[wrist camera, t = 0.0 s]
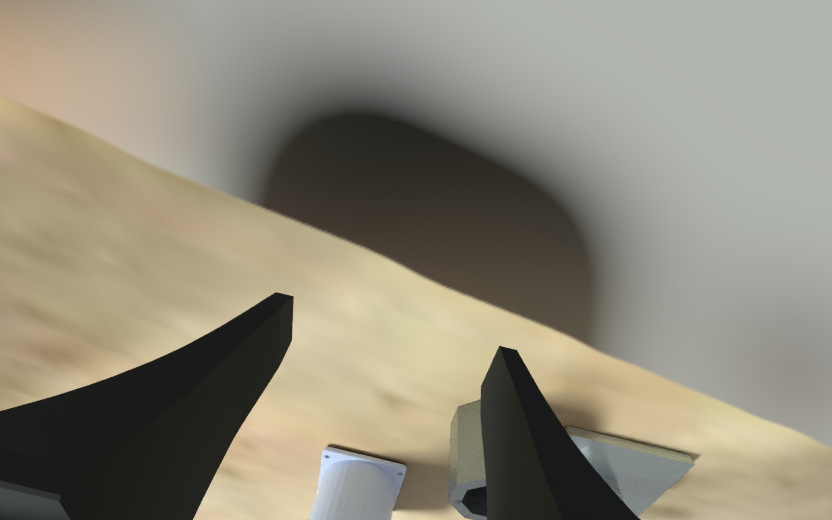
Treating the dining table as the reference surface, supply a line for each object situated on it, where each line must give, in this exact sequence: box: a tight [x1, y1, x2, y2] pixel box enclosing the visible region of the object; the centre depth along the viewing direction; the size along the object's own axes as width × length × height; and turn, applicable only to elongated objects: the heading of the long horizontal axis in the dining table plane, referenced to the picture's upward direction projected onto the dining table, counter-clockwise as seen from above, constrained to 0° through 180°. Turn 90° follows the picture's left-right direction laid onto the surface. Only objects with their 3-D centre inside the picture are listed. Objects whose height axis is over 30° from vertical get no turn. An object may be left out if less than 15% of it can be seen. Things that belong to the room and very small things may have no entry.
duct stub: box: [565, 426, 695, 517], centre depth 28 cm, size 10×10×5 cm
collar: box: [448, 400, 487, 520], centre depth 26 cm, size 5×5×6 cm
